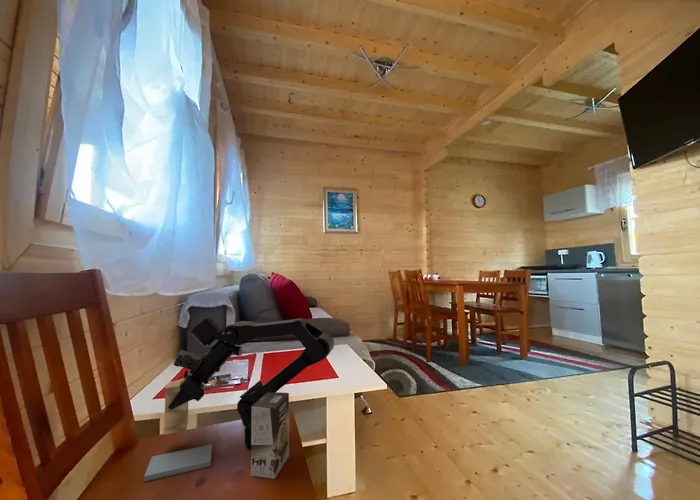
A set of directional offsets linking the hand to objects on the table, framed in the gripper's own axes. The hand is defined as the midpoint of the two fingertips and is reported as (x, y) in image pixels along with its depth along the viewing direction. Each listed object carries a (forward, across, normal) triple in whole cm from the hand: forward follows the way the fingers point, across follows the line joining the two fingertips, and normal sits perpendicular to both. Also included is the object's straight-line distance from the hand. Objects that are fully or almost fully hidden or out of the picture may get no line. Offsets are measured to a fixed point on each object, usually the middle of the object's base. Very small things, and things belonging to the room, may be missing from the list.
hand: (171, 404), depth 85 cm
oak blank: (+4, 0, +6) cm, 7 cm away
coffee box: (-9, +18, +26) cm, 32 cm away
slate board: (+6, +8, +11) cm, 15 cm away
